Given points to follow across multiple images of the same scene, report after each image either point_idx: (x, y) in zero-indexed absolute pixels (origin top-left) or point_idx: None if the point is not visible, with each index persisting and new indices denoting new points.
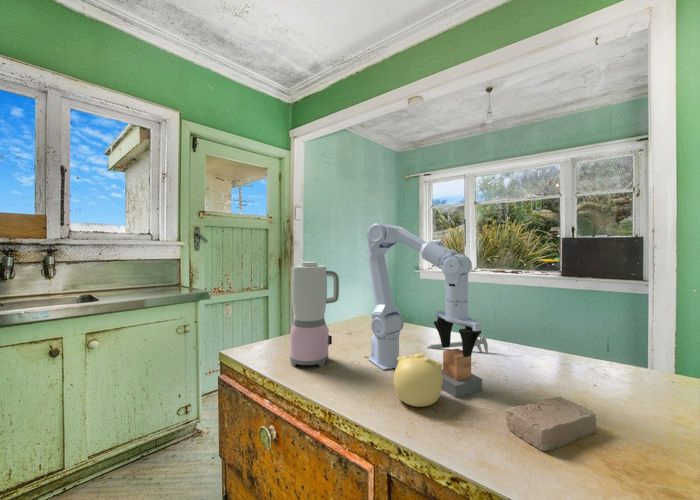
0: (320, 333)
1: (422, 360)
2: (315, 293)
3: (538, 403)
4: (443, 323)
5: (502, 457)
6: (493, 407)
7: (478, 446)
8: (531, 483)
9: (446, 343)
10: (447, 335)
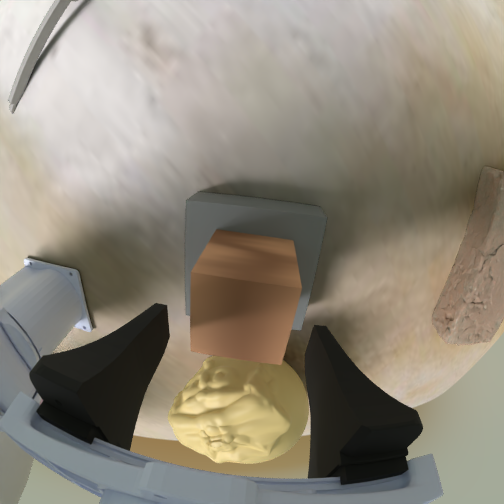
0: None
1: (259, 457)
2: (17, 486)
3: (487, 251)
4: (117, 441)
5: (432, 370)
6: (388, 270)
7: (403, 380)
8: (458, 372)
9: (162, 336)
10: (139, 357)
